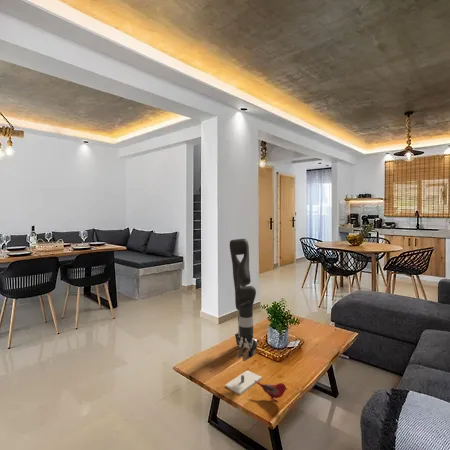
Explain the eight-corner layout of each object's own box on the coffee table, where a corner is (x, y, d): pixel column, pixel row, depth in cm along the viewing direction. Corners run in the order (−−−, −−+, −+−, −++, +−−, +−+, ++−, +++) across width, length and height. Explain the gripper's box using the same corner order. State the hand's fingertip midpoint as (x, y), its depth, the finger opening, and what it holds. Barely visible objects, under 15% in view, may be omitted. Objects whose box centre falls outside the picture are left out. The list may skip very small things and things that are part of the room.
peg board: (247, 371, 171) (247, 364, 171) (261, 378, 164) (261, 371, 164) (225, 386, 158) (225, 379, 158) (240, 394, 151) (240, 386, 151)
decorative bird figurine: (285, 407, 141) (285, 386, 140) (252, 393, 152) (252, 374, 151) (288, 404, 143) (288, 383, 143) (255, 390, 154) (255, 371, 153)
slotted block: (244, 361, 157) (244, 353, 156) (236, 358, 160) (236, 350, 160) (256, 354, 164) (255, 346, 164) (248, 351, 167) (248, 343, 167)
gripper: (261, 325, 159) (261, 357, 160) (240, 318, 168) (240, 348, 170) (252, 329, 153) (252, 362, 154) (231, 322, 163) (231, 353, 164)
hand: (246, 355), depth 162 cm, fingers closed on slotted block, 5 cm apart
